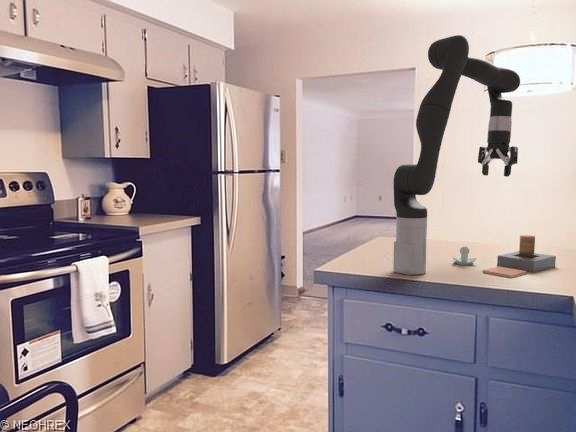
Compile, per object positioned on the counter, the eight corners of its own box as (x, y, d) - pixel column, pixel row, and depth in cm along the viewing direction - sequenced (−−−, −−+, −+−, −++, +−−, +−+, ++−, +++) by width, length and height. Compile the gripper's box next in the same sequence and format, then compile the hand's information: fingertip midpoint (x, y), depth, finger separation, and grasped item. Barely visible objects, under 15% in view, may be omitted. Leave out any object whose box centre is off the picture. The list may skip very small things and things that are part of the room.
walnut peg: (529, 268, 157) (530, 237, 156) (516, 266, 160) (517, 236, 159) (536, 266, 159) (537, 236, 158) (522, 264, 163) (524, 234, 162)
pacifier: (451, 262, 168) (453, 265, 162) (451, 244, 168) (454, 246, 162) (473, 263, 167) (476, 266, 161) (474, 245, 166) (477, 247, 160)
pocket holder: (533, 272, 151) (534, 261, 150) (497, 266, 160) (497, 255, 160) (555, 266, 159) (555, 256, 159) (519, 260, 169) (519, 250, 168)
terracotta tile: (511, 278, 144) (511, 275, 144) (482, 272, 151) (482, 270, 151) (526, 273, 149) (526, 271, 149) (498, 268, 156) (498, 266, 156)
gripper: (475, 130, 177) (472, 175, 179) (511, 128, 165) (507, 176, 167) (488, 131, 181) (485, 175, 183) (524, 130, 169) (520, 177, 171)
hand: (495, 175), depth 175 cm, fingers open, 8 cm apart
